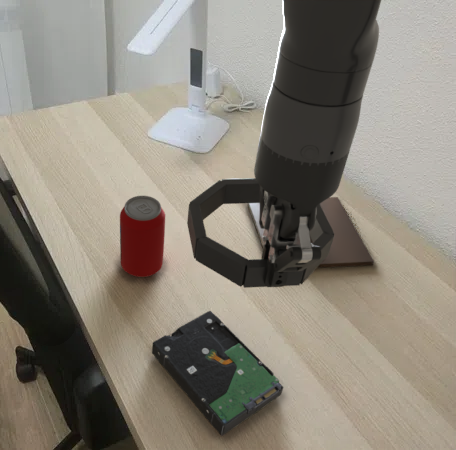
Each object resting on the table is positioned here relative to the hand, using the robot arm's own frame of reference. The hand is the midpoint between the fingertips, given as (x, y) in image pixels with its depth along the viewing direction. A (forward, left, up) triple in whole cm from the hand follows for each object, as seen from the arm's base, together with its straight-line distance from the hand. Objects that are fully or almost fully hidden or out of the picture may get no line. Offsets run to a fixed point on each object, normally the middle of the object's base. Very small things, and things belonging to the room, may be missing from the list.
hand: (271, 277), depth 58 cm
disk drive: (+4, -3, -21) cm, 22 cm away
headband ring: (0, -7, -1) cm, 7 cm away
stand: (-17, -30, -21) cm, 40 cm away
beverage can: (+12, -24, -21) cm, 34 cm away
